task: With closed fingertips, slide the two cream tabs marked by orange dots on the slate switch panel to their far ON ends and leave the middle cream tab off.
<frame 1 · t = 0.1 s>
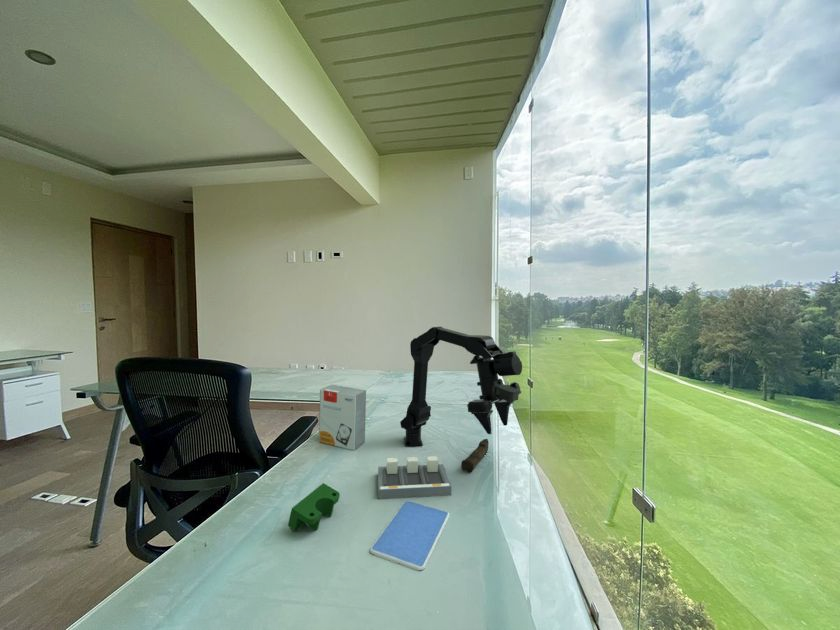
hand: (497, 429, 99), 15 cm above the table, tool pointing down, fingers open, 9 cm apart
tablet computer: (412, 534, 77), on the table
tab 1: (392, 465, 98), point 5 cm above the table, slide at 0.0 cm
tab 3: (432, 464, 99), point 5 cm above the table, slide at 0.0 cm
brown wooden log: (476, 460, 112), on the table
tab 2: (412, 465, 99), point 5 cm above the table, slide at 0.0 cm
hard drive box: (342, 443, 122), on the table
switch panel: (412, 484, 96), on the table
clamp: (315, 521, 80), on the table
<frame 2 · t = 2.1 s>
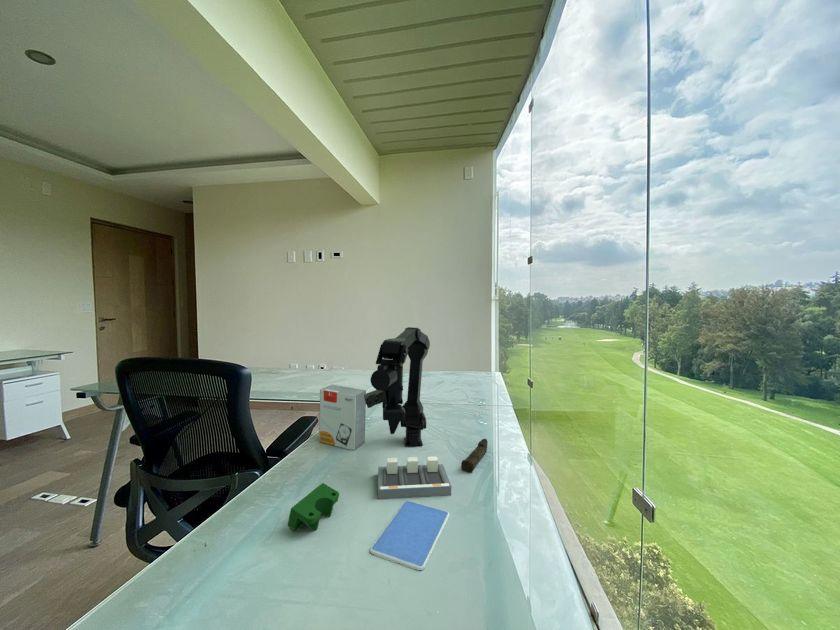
hand: (392, 432, 101), 13 cm above the table, tool pointing down, fingers closed
nothing on the table moved.
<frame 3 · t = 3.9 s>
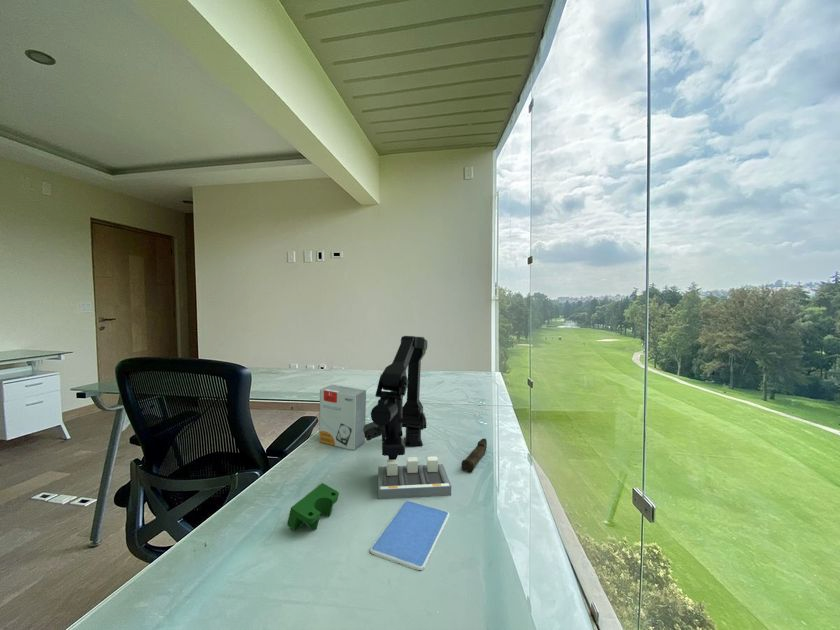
hand: (391, 464, 100), 4 cm above the table, tool pointing down, fingers closed
tab 1: (392, 467, 97), point 5 cm above the table, slide at 1.0 cm, touching gripper
everything else where it was.
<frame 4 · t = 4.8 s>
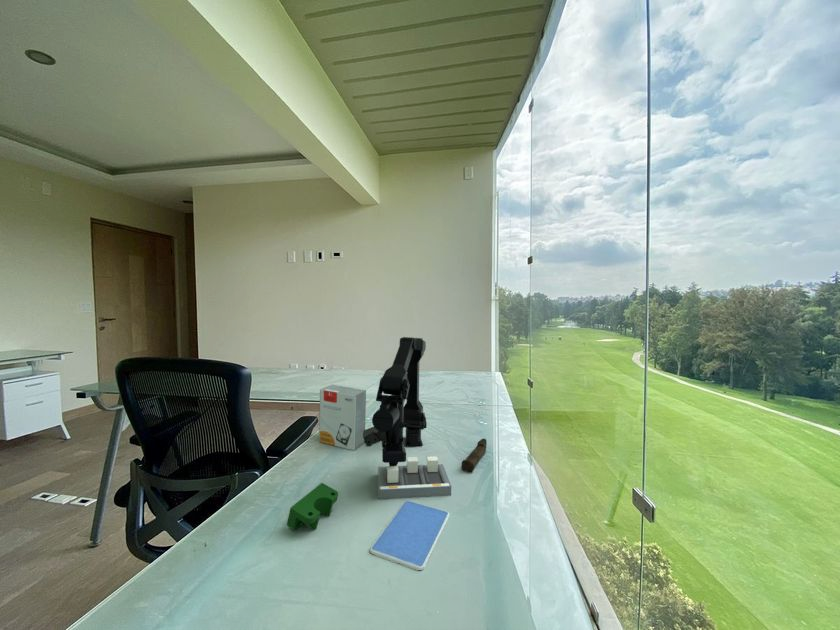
hand: (392, 470, 96), 4 cm above the table, tool pointing down, fingers closed
tab 1: (392, 474, 93), point 5 cm above the table, slide at 4.6 cm, touching gripper
everything else where it was.
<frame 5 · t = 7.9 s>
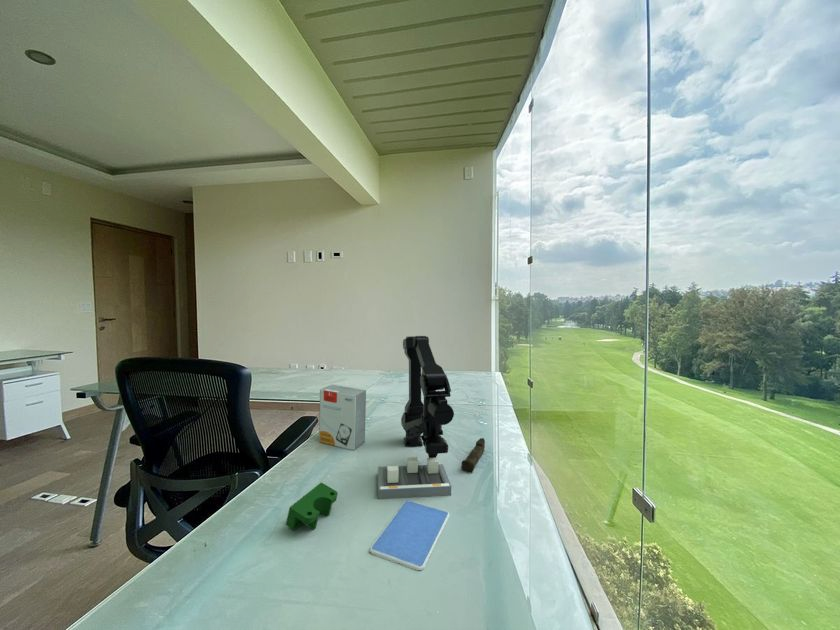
hand: (431, 462, 101), 4 cm above the table, tool pointing down, fingers closed
tab 1: (392, 474, 93), point 5 cm above the table, slide at 4.6 cm
tab 3: (432, 465, 99), point 5 cm above the table, slide at 0.8 cm, touching gripper
everything else where it was.
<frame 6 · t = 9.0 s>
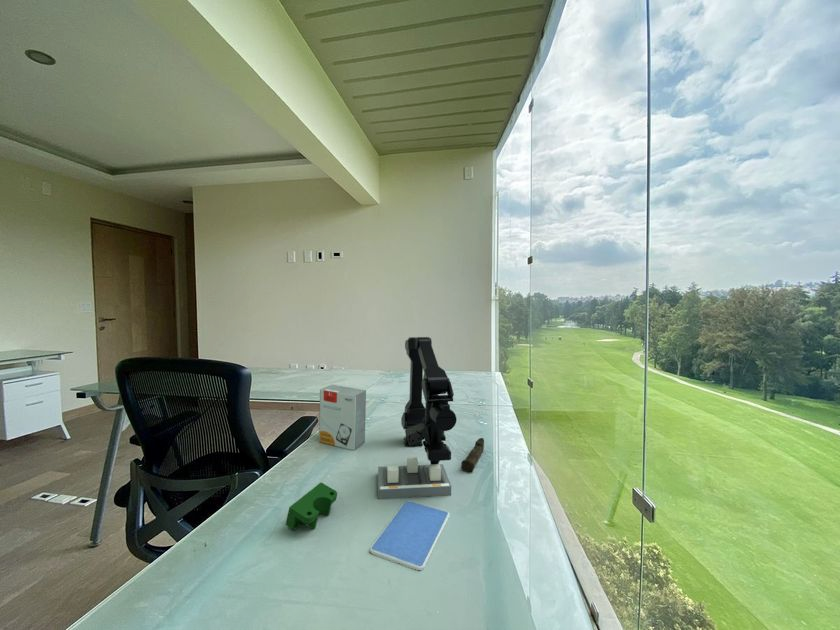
hand: (433, 469, 98), 4 cm above the table, tool pointing down, fingers closed
tab 3: (434, 472, 95), point 5 cm above the table, slide at 4.6 cm, touching gripper
everything else where it was.
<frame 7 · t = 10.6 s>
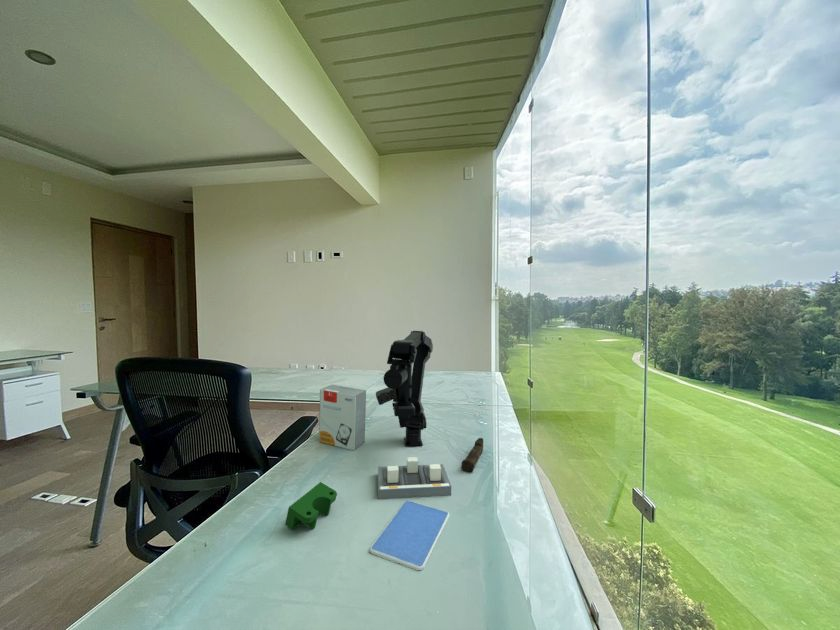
hand: (401, 427, 108), 12 cm above the table, tool pointing down, fingers closed
tab 3: (434, 472, 95), point 5 cm above the table, slide at 4.6 cm
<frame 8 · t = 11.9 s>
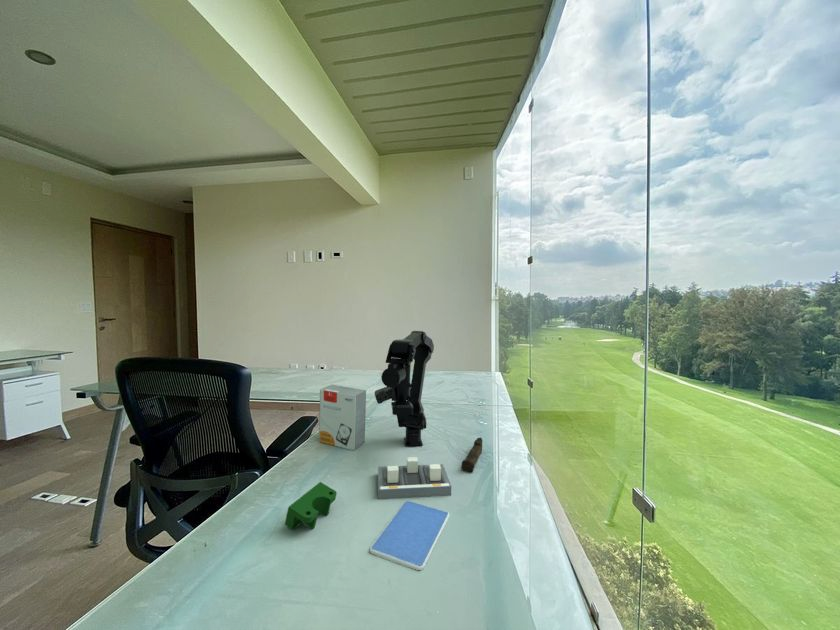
hand: (400, 426, 108), 12 cm above the table, tool pointing down, fingers closed
at the end: tab 1 slide at 4.6 cm; tab 3 slide at 4.6 cm; tab 2 slide at 0.0 cm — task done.
